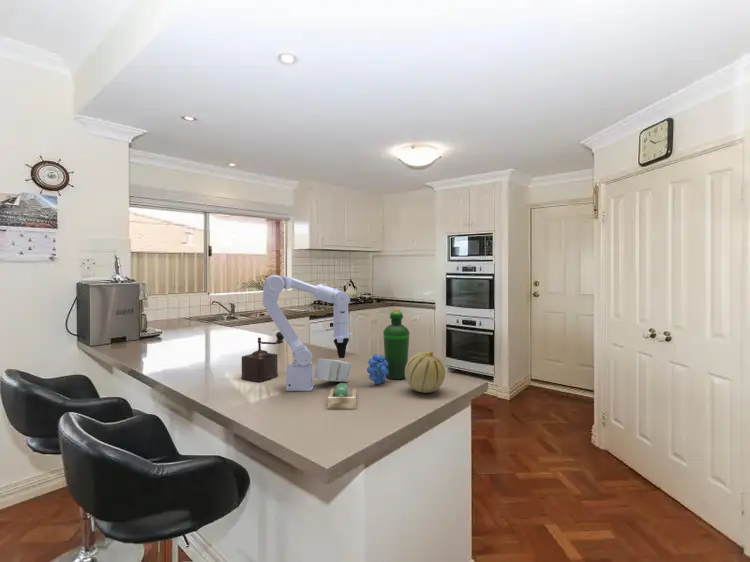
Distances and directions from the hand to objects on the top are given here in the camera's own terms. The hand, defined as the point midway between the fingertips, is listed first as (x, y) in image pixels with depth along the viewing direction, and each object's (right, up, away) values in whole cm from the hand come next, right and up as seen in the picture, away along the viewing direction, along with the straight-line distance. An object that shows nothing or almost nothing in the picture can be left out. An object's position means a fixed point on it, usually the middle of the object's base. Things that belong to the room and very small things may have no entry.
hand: (341, 357), depth 155 cm
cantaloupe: (+31, -11, -8) cm, 34 cm away
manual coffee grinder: (-33, -10, +12) cm, 36 cm away
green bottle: (+1, -9, -12) cm, 15 cm away
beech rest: (+2, -11, -19) cm, 22 cm away
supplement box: (0, -7, +7) cm, 10 cm away
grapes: (+15, -11, +1) cm, 18 cm away
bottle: (+21, -10, +11) cm, 26 cm away
